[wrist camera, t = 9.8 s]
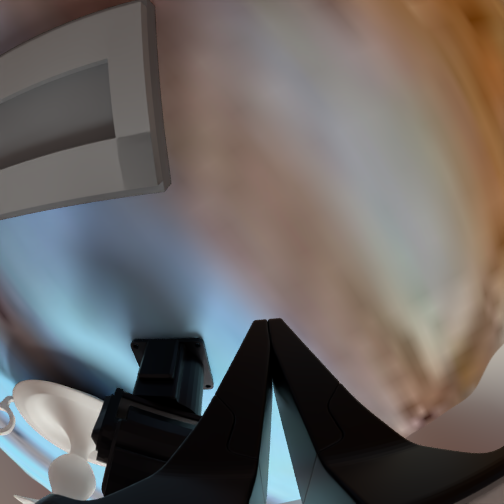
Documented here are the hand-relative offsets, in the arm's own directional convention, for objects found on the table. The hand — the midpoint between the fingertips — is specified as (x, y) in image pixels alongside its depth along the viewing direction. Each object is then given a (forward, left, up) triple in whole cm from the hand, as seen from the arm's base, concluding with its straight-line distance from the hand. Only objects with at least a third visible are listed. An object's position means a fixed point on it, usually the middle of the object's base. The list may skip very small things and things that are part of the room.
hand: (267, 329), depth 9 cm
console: (+8, +18, -12) cm, 23 cm away
